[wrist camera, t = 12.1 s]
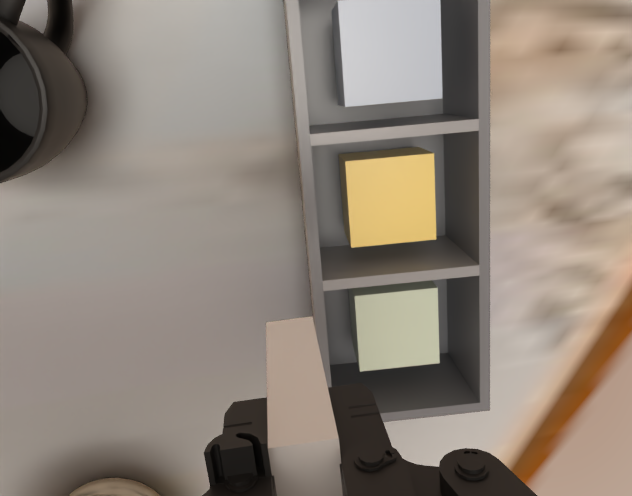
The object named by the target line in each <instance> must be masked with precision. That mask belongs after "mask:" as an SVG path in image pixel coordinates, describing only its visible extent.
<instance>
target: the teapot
mask: <svg viewBox="0 0 632 496" xmlns="http://www.w3.org/2000/svg"><path fill="white" fill-rule="evenodd" d="M69 496H160V495H159V494H158V493H157V492H156V491H154V490H153V489H151V488H150V487H148V486H146V485H144V484H142V483H140V482H137V481H134V480H130V479H125V478H104V479H99V480H95V481H92V482H89V483H87V484H85V485H83V486H81V487H79V488H77V489H76V490H74V491H73V492H72V493H71V494H70V495H69Z"/></svg>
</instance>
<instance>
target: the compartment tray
mask: <svg viewBox="0 0 632 496" xmlns="http://www.w3.org/2000/svg"><path fill="white" fill-rule="evenodd" d="M337 1H340V0H283V3H284V13H285V24H286V35H287V46H288V56H289V67H290V78H291V89H292V99H293V110H294V121H295V131H296V142H297V153H298V164H299V174H300V185H301V196H302V207H303V217H304V228H305V239H306V250H307V260H308V271H309V282H310V293H311V303H312V314H313V322H314V327H315V331H316V336H317V340H318V345H319V350H320V354H321V359H322V363H323V368H324V373H325V377H326V382H327V386H328V388H329V387H336V386H343V385H350V384H357V383H362V384H363V385H364V386H366V387H367V388H368V389H369V390H371V391H372V393H373V396H374V398H375V401H376V405H377V407H378V409H379V413H380V415H381V418H382V421H383V422H389V421H398V420H407V419H416V418H425V417H434V416H444V415H453V414H462V413H471V412H480V411H489V410H490V0H440V6H441V52H442V98H441V99H430V100H418V101H407V102H396V103H385V104H374V105H363V106H351V107H343V106H339V105H338V97H337V83H336V69H335V55H334V41H333V27H332V13H331V11H332V9H333V8H334V6H335V4H336V3H337ZM411 147H420V148H423V149H425V150H427V151H430V152H432V153H434V168H435V206H436V240H426V241H415V242H405V243H395V244H385V245H375V246H364V247H354V248H351V246H350V244H349V242H348V239H347V237H346V235H345V233H344V221H343V207H342V194H341V180H340V166H339V154H346V153H357V152H368V151H378V150H389V149H400V148H411ZM429 280H432V281H433V282H434V284H435V285H436V286H437V288H438V319H439V357H440V363H437V364H427V365H418V366H408V367H399V368H389V369H380V370H371V371H361V372H360V370H359V367H358V363H357V359H356V356H355V352H354V349H353V344H352V331H351V317H350V303H349V290H348V289H350V288H360V287H370V286H379V285H389V284H399V283H409V282H419V281H429Z"/></svg>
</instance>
